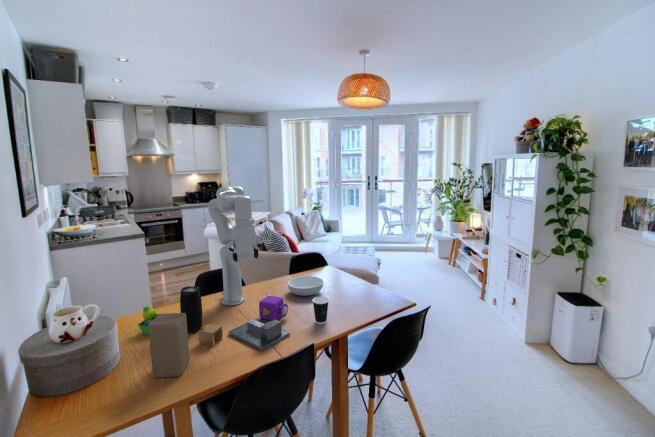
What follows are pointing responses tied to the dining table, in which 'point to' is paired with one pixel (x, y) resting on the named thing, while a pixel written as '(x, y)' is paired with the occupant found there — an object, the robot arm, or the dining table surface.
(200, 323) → the portable speaker
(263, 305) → the toy camera
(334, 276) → the dining table surface
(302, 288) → the serving bowl
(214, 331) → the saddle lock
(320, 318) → the dixie cup
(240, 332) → the plate
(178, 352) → the wooden block
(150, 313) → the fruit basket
